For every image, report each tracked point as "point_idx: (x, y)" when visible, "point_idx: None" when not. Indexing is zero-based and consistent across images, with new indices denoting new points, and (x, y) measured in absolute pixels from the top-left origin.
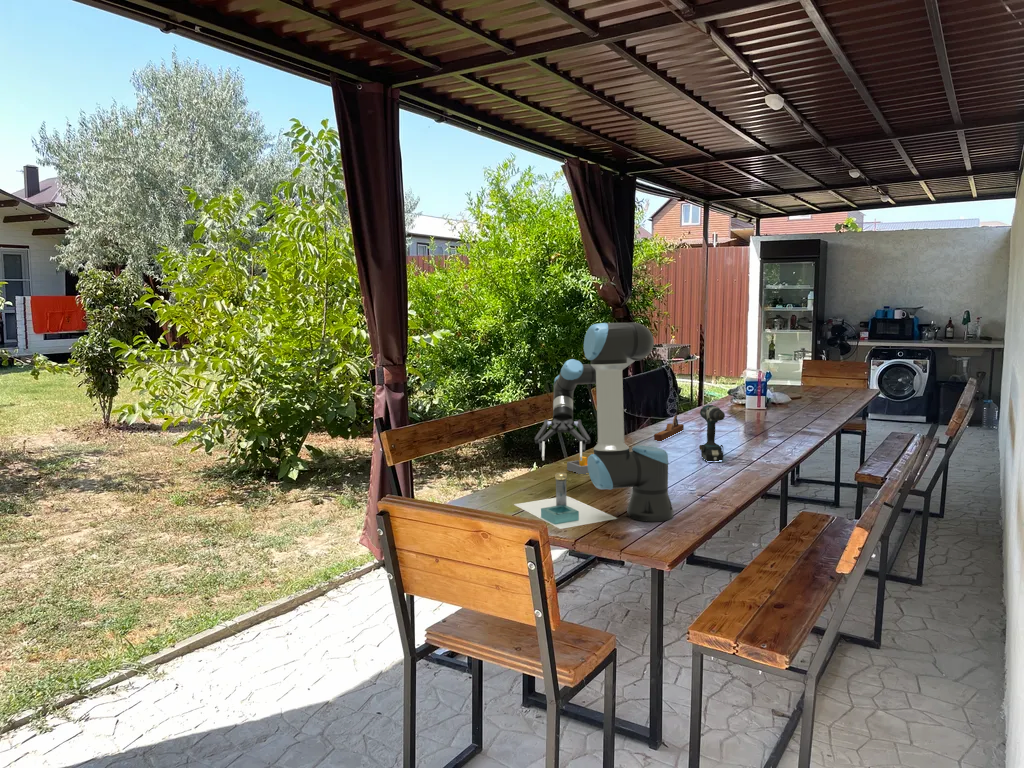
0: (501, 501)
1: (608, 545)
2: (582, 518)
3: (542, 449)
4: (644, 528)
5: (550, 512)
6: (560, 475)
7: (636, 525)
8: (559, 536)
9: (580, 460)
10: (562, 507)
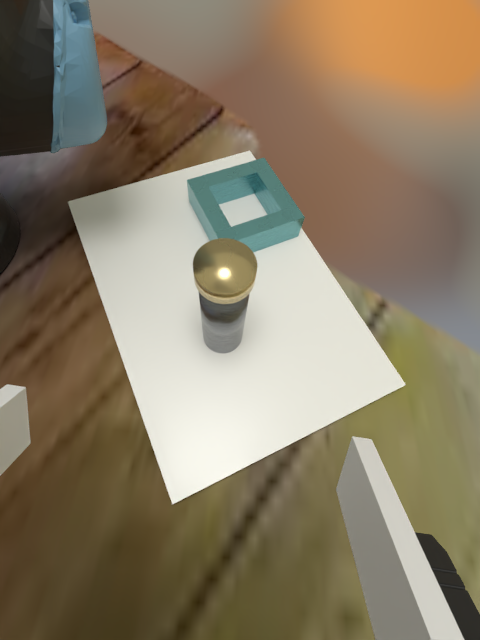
0: (467, 481)
1: (155, 84)
2: (174, 212)
3: (397, 501)
4: (25, 154)
5: (275, 179)
6: (231, 241)
7: (34, 175)
8: (253, 135)
9: (26, 440)
10: (231, 228)
